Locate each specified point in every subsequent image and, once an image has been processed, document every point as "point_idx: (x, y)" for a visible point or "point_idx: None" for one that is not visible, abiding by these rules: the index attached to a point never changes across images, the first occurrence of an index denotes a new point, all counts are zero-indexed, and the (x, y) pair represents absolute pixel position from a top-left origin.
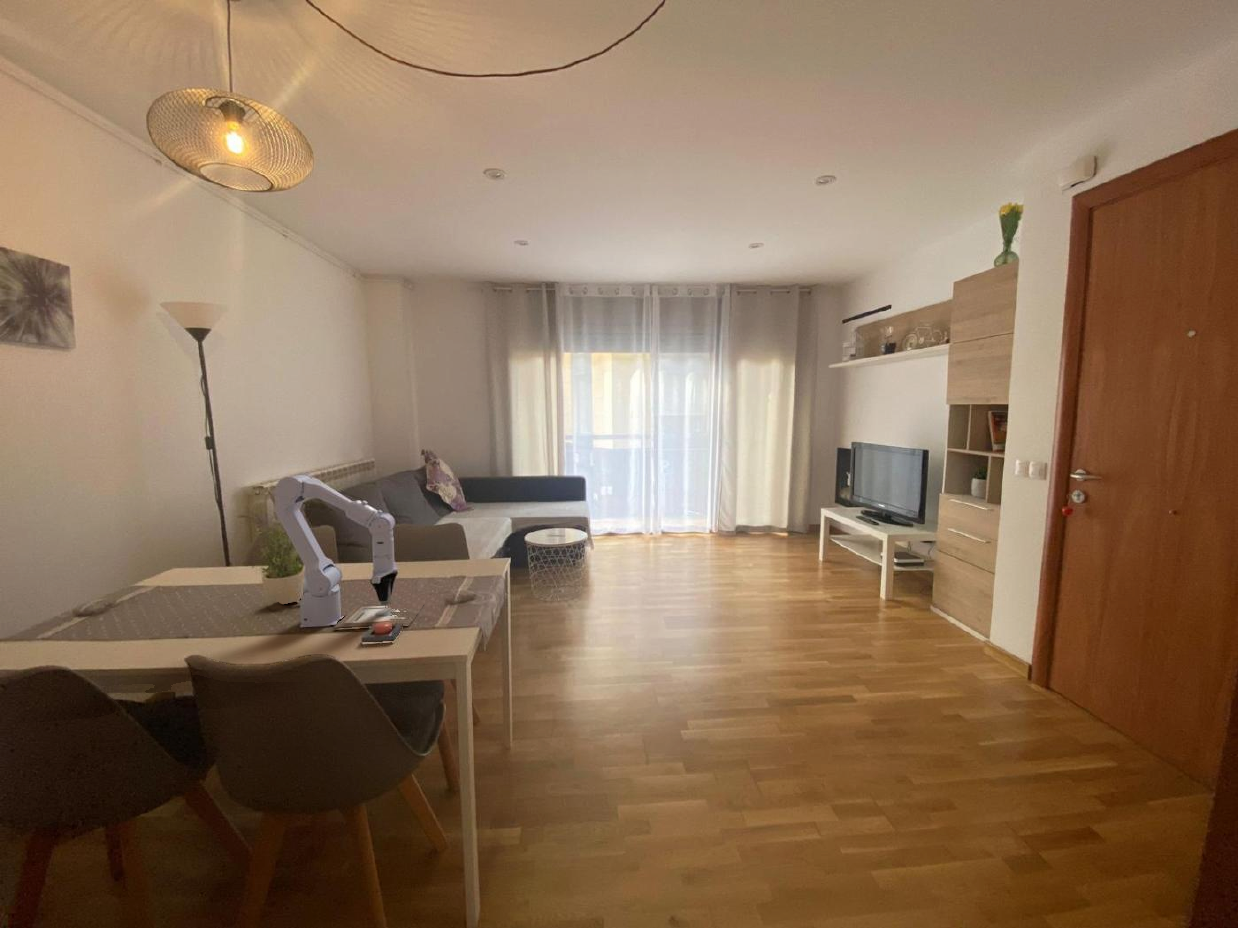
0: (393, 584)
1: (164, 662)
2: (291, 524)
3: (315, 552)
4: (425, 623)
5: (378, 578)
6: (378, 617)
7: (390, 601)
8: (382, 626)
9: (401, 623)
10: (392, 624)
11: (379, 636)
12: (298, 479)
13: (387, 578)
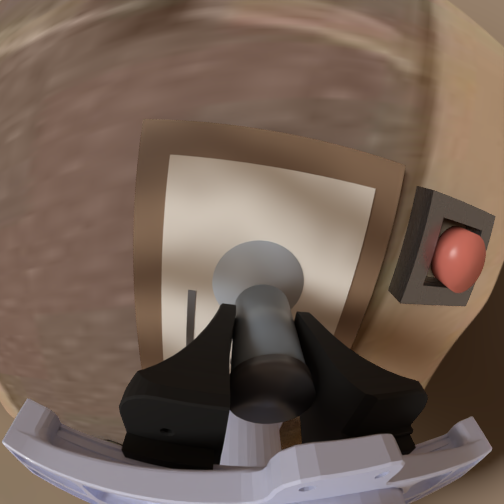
0: (197, 336)
1: None
2: None
3: None
4: (385, 101)
5: (486, 440)
6: (305, 302)
7: (268, 289)
8: (476, 262)
9: (435, 196)
10: (430, 231)
11: None
12: None
13: (363, 427)
